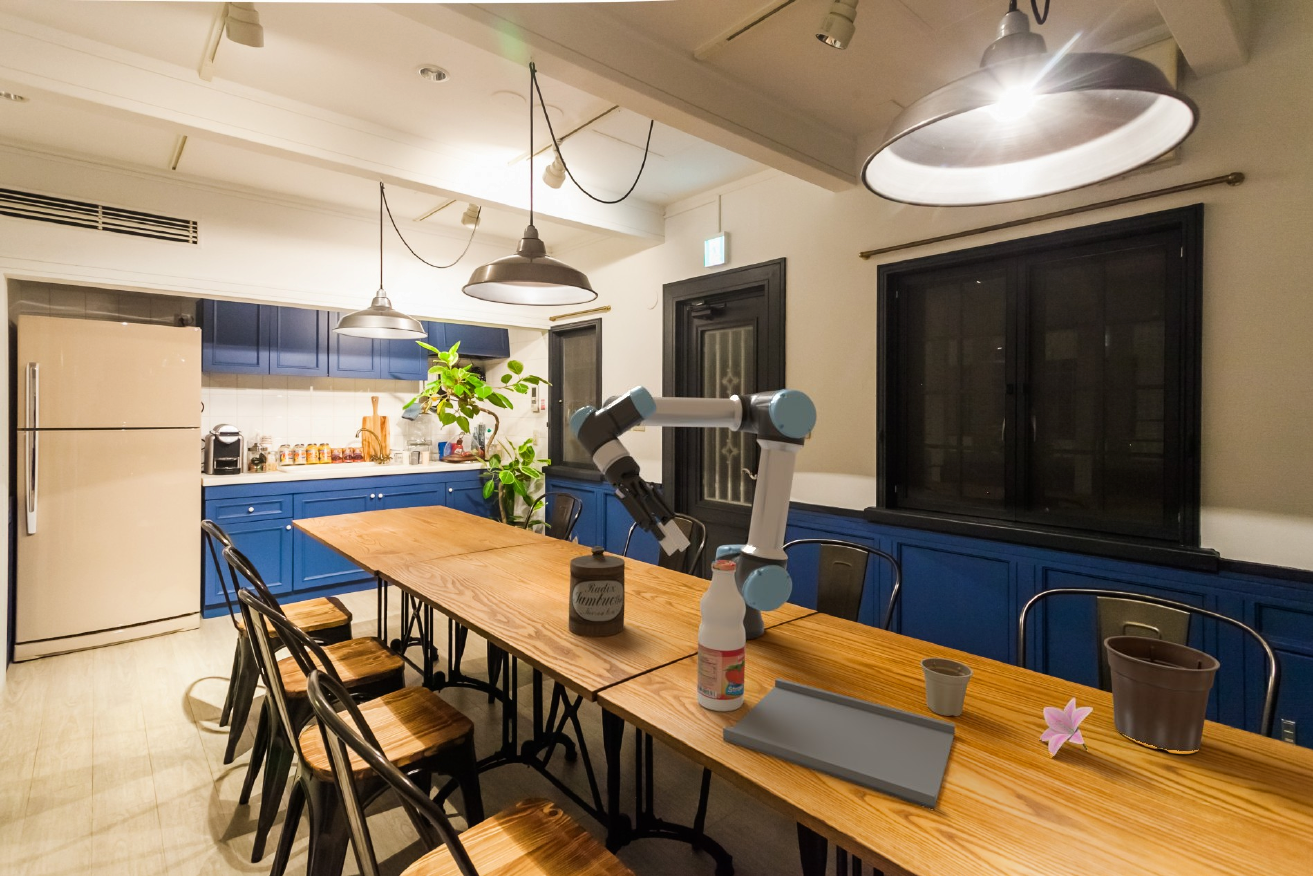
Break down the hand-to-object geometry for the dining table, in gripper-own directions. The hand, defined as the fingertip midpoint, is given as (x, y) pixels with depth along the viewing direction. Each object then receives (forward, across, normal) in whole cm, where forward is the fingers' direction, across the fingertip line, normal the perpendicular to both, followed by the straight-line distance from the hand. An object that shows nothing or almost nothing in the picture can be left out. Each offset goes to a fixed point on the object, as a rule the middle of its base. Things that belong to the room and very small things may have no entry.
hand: (679, 549), depth 125 cm
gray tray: (+45, 0, +4) cm, 45 cm away
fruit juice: (+28, 0, -14) cm, 31 cm away
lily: (+69, -18, +27) cm, 76 cm away
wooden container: (-5, -20, -46) cm, 51 cm away
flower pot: (+55, -23, +13) cm, 61 cm away
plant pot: (+79, -33, +37) cm, 94 cm away
